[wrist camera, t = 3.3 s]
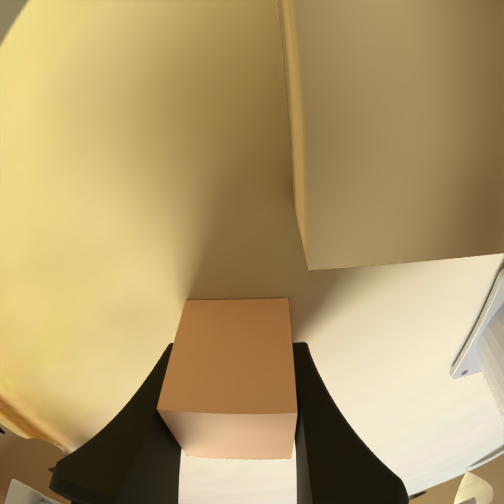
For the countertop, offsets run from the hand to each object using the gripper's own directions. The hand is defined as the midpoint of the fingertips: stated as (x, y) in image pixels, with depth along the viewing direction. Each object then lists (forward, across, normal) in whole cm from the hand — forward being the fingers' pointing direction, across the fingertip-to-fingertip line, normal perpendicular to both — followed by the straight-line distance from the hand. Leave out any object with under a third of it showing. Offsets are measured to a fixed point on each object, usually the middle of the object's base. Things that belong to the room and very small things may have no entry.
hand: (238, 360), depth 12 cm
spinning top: (+2, -36, +43) cm, 56 cm away
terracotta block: (+1, 0, 0) cm, 1 cm away
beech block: (+2, -7, -11) cm, 13 cm away
